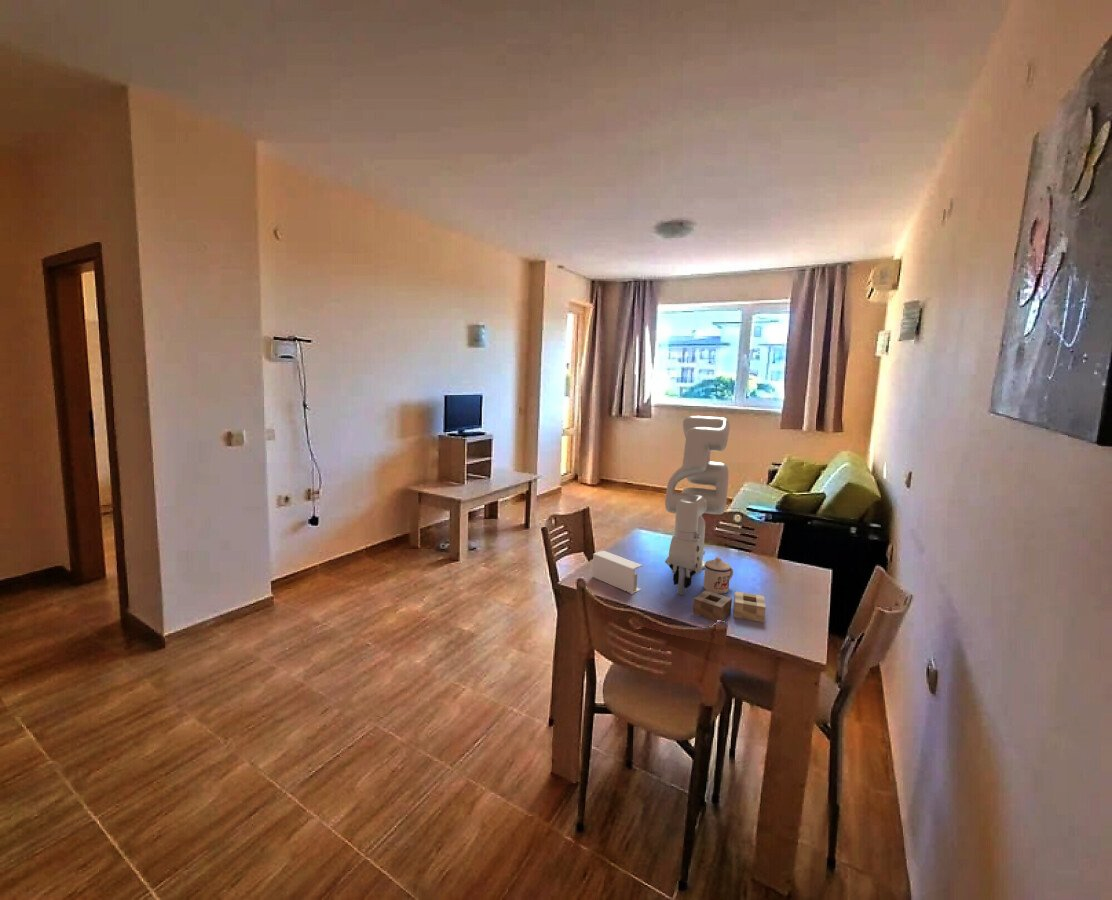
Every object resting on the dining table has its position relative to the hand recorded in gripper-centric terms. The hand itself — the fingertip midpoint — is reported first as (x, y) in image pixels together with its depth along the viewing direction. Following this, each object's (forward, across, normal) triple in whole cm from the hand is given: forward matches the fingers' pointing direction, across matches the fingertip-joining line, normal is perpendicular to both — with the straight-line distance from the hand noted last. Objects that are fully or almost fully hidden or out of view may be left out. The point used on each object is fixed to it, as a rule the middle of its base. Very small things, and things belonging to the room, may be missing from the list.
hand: (681, 584), depth 179 cm
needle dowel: (+3, 0, 0) cm, 3 cm away
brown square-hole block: (+3, -14, +7) cm, 16 cm away
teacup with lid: (+3, -8, -14) cm, 16 cm away
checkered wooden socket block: (+3, -23, -1) cm, 23 cm away
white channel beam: (+4, +22, +8) cm, 24 cm away
